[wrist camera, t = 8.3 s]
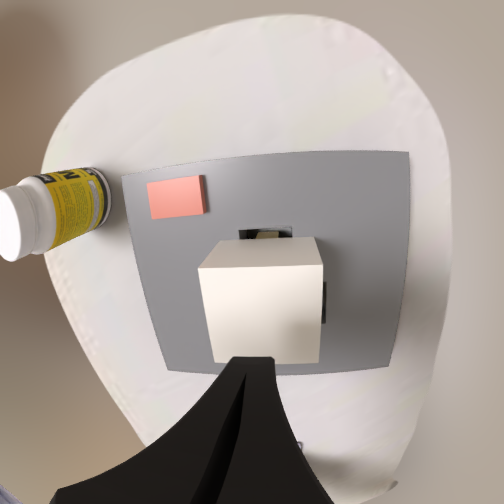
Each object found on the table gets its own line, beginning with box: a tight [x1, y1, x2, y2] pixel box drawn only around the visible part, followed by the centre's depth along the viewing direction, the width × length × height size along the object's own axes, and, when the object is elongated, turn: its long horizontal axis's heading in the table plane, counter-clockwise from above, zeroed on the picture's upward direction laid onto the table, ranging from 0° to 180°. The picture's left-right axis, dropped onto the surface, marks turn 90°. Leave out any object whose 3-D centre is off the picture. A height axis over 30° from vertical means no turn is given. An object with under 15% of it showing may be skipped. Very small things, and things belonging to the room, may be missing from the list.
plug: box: [198, 231, 323, 364], centre depth 15 cm, size 7×5×6 cm
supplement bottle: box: [0, 168, 111, 261], centre depth 14 cm, size 5×5×8 cm
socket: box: [121, 151, 410, 375], centre depth 16 cm, size 14×16×3 cm
